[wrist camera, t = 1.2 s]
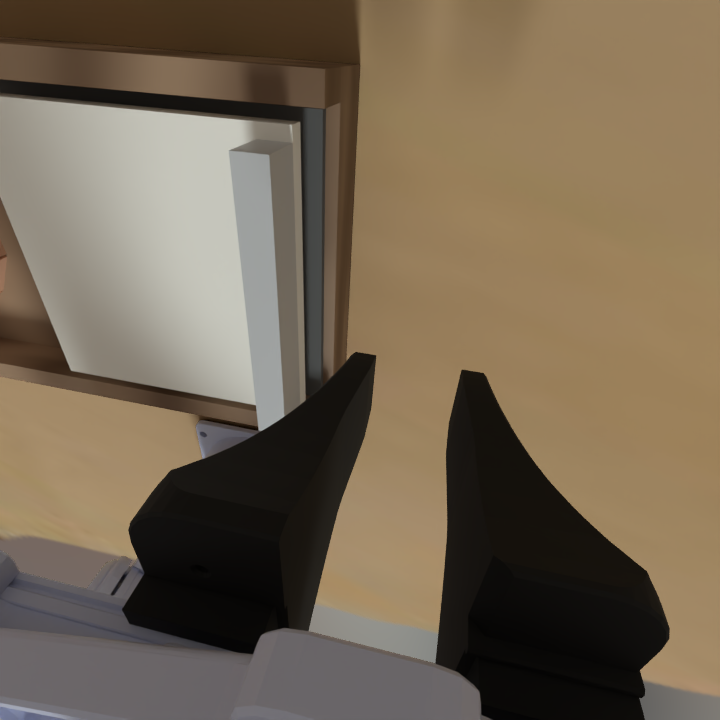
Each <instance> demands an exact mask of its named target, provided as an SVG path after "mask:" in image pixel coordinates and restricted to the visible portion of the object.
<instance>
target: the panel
mask: <svg viewBox="0 0 720 720" xmlns="http://www.w3.org/2000/svg"><path fill="white" fill-rule="evenodd" d="M0 93H8V94H19V95H29V96H39V97H50V98H60V99H71V100H81V101H91V102H102V103H112V104H123V105H133V106H143V107H154V108H164V109H175V110H185V111H195V112H206V113H216V114H227V115H237V116H247V117H258V118H268V119H279V120H289V121H299V122H300V139H301V190H302V241H303V292H304V343H305V394H306V395H310V396H311V395H312V394H314V393H315V392H316V391H317V390H318V389H319V388H320V387H321V386H322V385H323V341H324V246H325V151H326V109H320V108H309V107H298V106H287V105H276V104H266V103H255V102H244V101H233V100H222V99H211V98H200V97H189V96H178V95H167V94H156V93H145V92H134V91H123V90H113V89H102V88H91V87H80V86H69V85H58V84H47V83H36V82H25V81H14V80H3V79H0Z"/></svg>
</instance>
